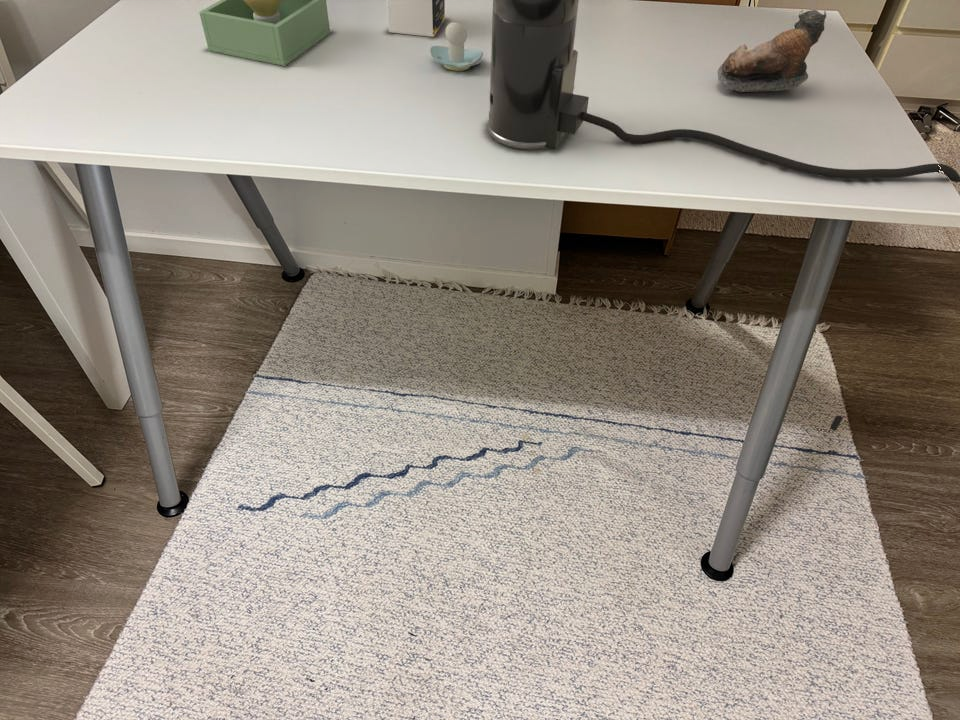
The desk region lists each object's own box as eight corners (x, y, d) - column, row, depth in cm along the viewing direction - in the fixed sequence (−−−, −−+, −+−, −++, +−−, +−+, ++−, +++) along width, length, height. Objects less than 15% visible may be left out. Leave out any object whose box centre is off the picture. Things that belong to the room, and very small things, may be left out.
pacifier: (437, 54, 105) (427, 70, 100) (437, 8, 100) (426, 23, 96) (487, 59, 104) (479, 76, 99) (489, 13, 99) (480, 29, 95)
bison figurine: (721, 100, 96) (743, 21, 89) (707, 76, 101) (726, 0, 94) (810, 100, 97) (838, 21, 89) (792, 76, 102) (817, 0, 94)
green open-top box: (330, 33, 109) (325, -5, 105) (284, 66, 101) (277, 27, 97) (258, 19, 112) (251, -18, 108) (208, 50, 104) (198, 11, 100)
